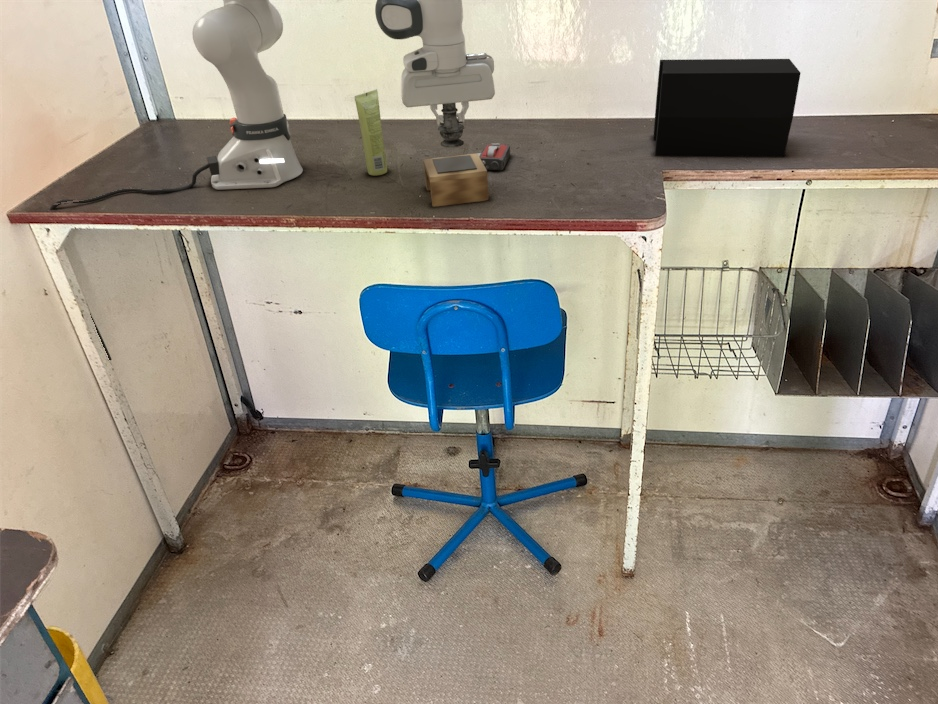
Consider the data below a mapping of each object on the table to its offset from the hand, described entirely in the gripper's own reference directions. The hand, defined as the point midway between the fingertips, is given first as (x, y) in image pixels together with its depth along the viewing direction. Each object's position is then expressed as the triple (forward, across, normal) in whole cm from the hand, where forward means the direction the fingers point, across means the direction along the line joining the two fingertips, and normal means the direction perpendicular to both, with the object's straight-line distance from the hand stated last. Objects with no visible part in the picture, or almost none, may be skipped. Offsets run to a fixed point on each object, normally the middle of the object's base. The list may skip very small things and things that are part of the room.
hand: (450, 123), depth 157 cm
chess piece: (+5, 0, 0) cm, 5 cm away
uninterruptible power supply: (+16, -72, -11) cm, 74 cm away
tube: (+16, +17, -20) cm, 31 cm away
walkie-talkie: (+16, -11, -15) cm, 25 cm away
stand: (+16, 0, 0) cm, 16 cm away
